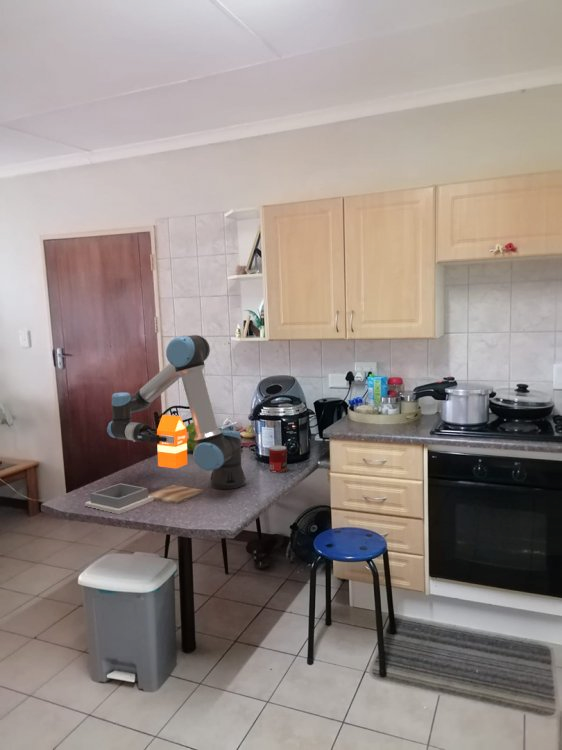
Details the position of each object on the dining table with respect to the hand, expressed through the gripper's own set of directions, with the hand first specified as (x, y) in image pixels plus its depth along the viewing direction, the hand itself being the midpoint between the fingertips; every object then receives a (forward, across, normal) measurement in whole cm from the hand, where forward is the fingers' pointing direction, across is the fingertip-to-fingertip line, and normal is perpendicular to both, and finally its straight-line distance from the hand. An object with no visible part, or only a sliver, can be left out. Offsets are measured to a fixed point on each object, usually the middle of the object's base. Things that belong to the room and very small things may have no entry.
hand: (181, 437), depth 222 cm
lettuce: (-44, -67, -24) cm, 84 cm away
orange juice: (-5, 0, -12) cm, 13 cm away
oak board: (-4, 0, -24) cm, 24 cm away
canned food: (+14, -50, -24) cm, 57 cm away
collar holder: (-16, +18, -24) cm, 34 cm away
